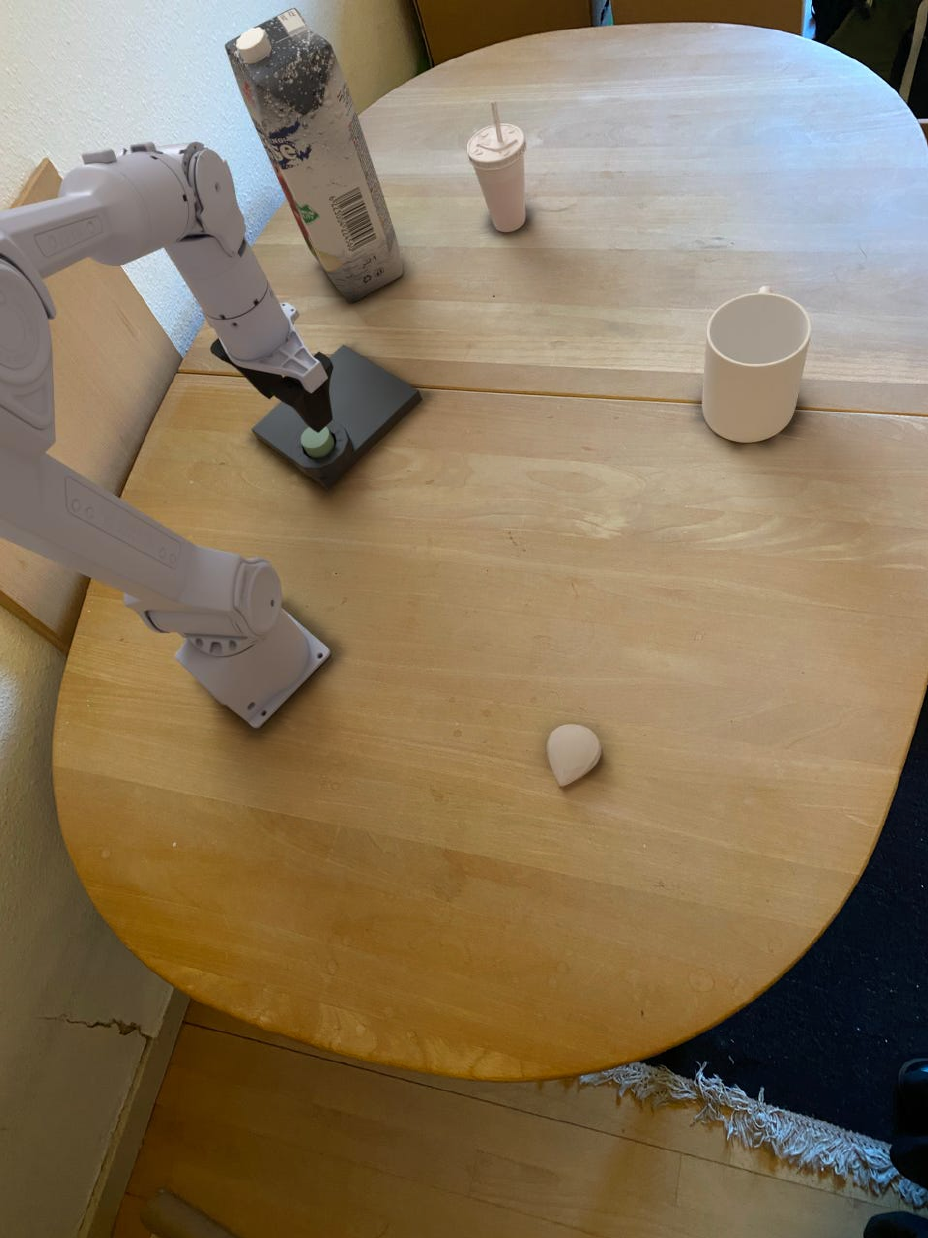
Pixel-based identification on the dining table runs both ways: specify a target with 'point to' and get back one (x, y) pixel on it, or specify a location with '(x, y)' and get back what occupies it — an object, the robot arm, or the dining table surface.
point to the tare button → (317, 442)
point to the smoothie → (500, 171)
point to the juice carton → (317, 150)
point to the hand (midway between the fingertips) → (298, 407)
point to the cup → (754, 365)
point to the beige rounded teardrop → (572, 752)
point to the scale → (342, 417)
